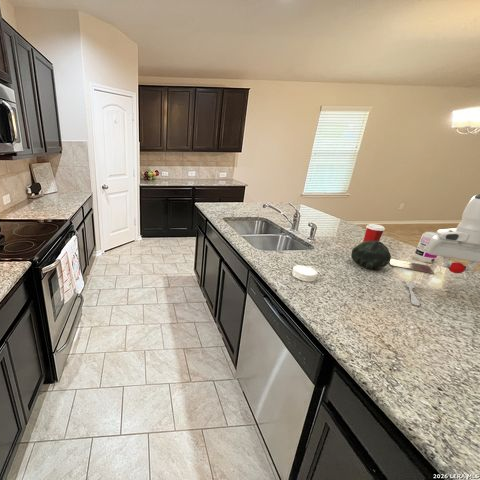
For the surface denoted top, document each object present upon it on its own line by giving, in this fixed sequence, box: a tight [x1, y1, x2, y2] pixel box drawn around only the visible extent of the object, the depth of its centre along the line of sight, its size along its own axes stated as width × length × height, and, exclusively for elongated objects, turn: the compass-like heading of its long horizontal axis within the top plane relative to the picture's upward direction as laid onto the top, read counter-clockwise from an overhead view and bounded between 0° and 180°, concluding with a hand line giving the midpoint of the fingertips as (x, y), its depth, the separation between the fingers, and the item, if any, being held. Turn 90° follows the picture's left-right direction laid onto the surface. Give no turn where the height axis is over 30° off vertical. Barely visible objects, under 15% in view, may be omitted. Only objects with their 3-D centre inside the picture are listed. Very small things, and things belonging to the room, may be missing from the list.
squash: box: [350, 240, 392, 270], centre depth 126 cm, size 14×15×15 cm
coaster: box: [291, 264, 318, 283], centre depth 117 cm, size 10×10×4 cm
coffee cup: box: [362, 223, 386, 242], centre depth 144 cm, size 8×8×15 cm
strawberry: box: [447, 261, 466, 274], centre depth 100 cm, size 4×4×4 cm
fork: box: [405, 281, 421, 307], centre depth 105 cm, size 3×21×3 cm, turn 145°
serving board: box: [388, 258, 435, 275], centre depth 128 cm, size 16×10×1 cm, turn 57°
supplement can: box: [413, 231, 438, 264], centre depth 132 cm, size 8×8×15 cm
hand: (456, 268), depth 100 cm, fingers closed on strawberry, 4 cm apart
